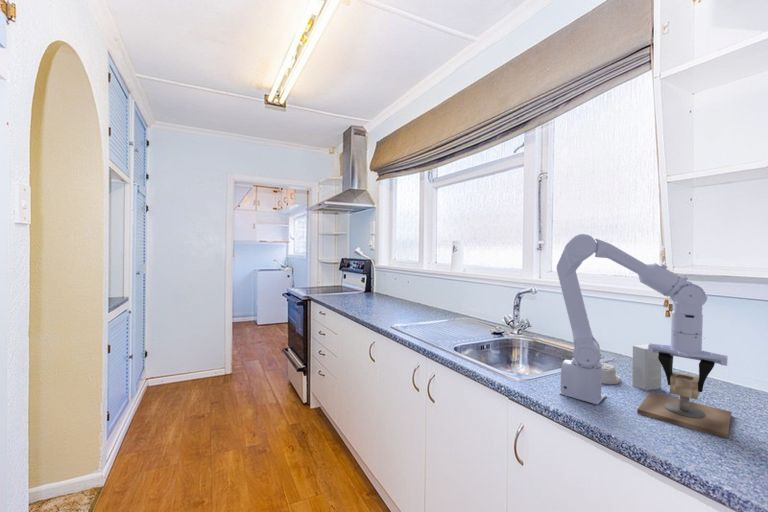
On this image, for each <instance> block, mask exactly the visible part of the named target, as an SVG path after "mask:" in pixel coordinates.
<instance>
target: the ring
mask: <svg viewBox="0 0 768 512" xmlns="http://www.w3.org/2000/svg"><path fill="white" fill-rule="evenodd" d="M672 372H673V374H672V375H671V377H670V385H669V394H670V395H671V394H673V395H676V396H679V397H680V396H684V397H688V398H689V399H694V400H698V398H699V396H700V395H701V392H698V383H699V376H696V375H690V374H686V373H681V372H676V371H672Z"/></svg>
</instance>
